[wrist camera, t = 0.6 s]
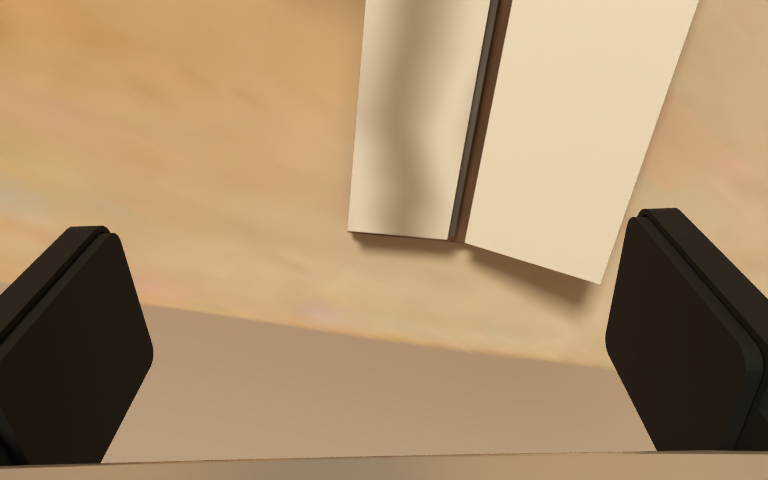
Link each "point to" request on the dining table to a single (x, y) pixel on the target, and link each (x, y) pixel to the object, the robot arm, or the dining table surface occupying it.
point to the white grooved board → (423, 114)
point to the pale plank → (572, 126)
